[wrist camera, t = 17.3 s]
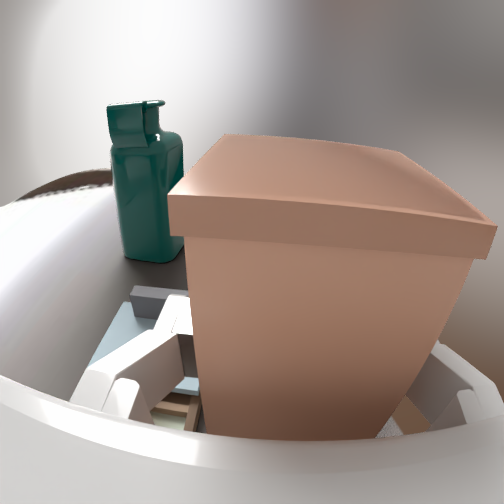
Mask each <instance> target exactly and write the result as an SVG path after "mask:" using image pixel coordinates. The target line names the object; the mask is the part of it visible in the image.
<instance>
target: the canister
mask: <svg viewBox="0 0 504 504" xmlns="http://www.w3.org/2000/svg"><path fill="white" fill-rule="evenodd" d="M167 199H168V213H169V226H170V236H184V246H185V259H186V271H187V283H188V294H189V304H190V313H191V323H192V332H193V340H194V349H195V357H196V364H197V372H198V379H199V386H200V393H201V400H202V406H203V413H204V419H205V425H206V431H207V434H211V435H219V436H228V437H238V438H250V439H264V440H285V441H337V440H357V439H371V438H375V437H376V436H377V434H378V433H379V432H380V430H381V429H382V428H383V426H384V425H385V424H386V422H387V421H388V419H389V418H390V416H391V415H392V413H393V412H394V411H395V409H396V408H397V406H398V404H399V403H400V402H401V400H402V399H403V397H404V396H405V394H406V393H407V391H408V389H409V388H410V386H411V385H412V383H413V381H414V380H415V378H416V377H417V375H418V373H419V372H420V370H421V368H422V366H423V365H424V363H425V361H426V360H427V358H428V356H429V354H430V352H431V351H432V349H433V347H434V345H435V343H436V341H437V339H438V338H439V336H440V334H441V332H442V330H443V328H444V325H445V324H446V322H447V320H448V317H449V316H450V313H451V311H452V309H453V307H454V305H455V302H456V300H457V298H458V296H459V294H460V292H461V289H462V287H463V284H464V282H465V280H466V277H467V275H468V272H469V270H470V267H471V265H472V262H473V260H474V259H484V260H486V258H487V255H488V253H489V250H490V247H491V245H492V242H493V239H494V236H495V233H496V230H497V227H498V226H497V225H495V223H493V222H492V221H491V220H490V219H489V218H487V217H486V216H485V215H484V214H483V213H482V212H480V211H479V210H478V209H477V208H476V207H474V206H473V205H472V204H471V203H469V202H468V201H467V200H466V199H464V198H463V197H462V196H461V195H459V194H458V193H457V192H455V191H454V190H453V189H451V188H450V187H449V186H448V185H446V184H445V183H444V182H442V181H441V180H439V179H438V178H437V177H435V176H434V175H433V174H431V173H430V172H428V171H427V170H425V169H424V168H422V167H421V166H420V165H418V164H417V163H415V162H414V161H412V160H410V159H409V158H408V157H406V156H405V155H403V154H402V153H400V152H399V151H393V150H386V149H381V148H375V147H368V146H361V145H354V144H346V143H338V142H330V141H321V140H311V139H300V138H289V137H276V136H260V135H239V134H237V135H236V134H224V135H223V136H222V137H221V138H220V139H219V140H218V141H217V142H216V143H215V144H214V145H213V146H212V147H211V148H210V149H209V150H208V151H207V152H206V153H205V154H204V156H203V157H202V158H201V159H200V160H199V161H198V162H197V163H196V164H195V165H194V166H193V167H192V168H191V169H190V170H189V171H188V172H187V173H186V174H185V176H184V177H183V178H182V179H181V180H180V181H179V182H178V183H177V184H176V185H175V186H174V187H173V189H172V190H171V191H170V192H169V193H168V194H167Z"/></svg>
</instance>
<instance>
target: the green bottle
mask: <svg viewBox="0 0 504 504" xmlns="http://www.w3.org/2000/svg"><path fill="white" fill-rule="evenodd" d="M163 105H165V102H164V101H162V100H152V101H141V102H130V103H120V104H110V105H108V106H107V117H108V126H109V133H110V137H111V140H112V143H113V145H112V147H111V150H110V162H111V171H112V180H113V189H114V196H115V204H116V211H117V218H118V224H119V230H120V236H121V242H122V248H123V253H124V255H125V256H126V257H128V258H130V259H135V260H142V261H149V262H156V263H166V262H169V261H171V260H173V259H174V258H175V257H176V256H177V254H178V253H179V251H180V250H181V248H182V247H183V246H184V236H170V226H169V213H168V199H167V194H168V193H169V192H170V191H171V190H172V189H173V187H174V186H175V185H176V184H177V183H178V182H179V181H180V180H181V179H182V178H183V177H184V171H183V143H182V140H181V137H180V136H179V135H178V134H176V133H174V132H168V131H163V130H162V129H161V128H160V125H159V107H160V106H163Z"/></svg>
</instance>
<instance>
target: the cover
mask: <svg viewBox="0 0 504 504" xmlns="http://www.w3.org/2000/svg"><path fill="white" fill-rule="evenodd" d="M170 294H177V295H186V296H189V294H188V291H186V290H176V289H166V288H156V287H147V286H138V285H135V286H134V288H133V290H132V291H131V293H130V300H131V302H123V304H122V306H121V307H120V309H119V311H118V312H117V314H116V316H115V318H114V319H113V321H112V323H111V325H110V326H109V328H108V330H107V332H106V333H105V335H104V337H103V339H102V341H101V342H100V344H99V346H98V348H97V350H96V352H95V353H94V355H93V357H92V359H91V361H90V363H89V365H88V367H89V366H91V365H92V364H94V363H96V362H97V361H99V360H100V359H102V358H104V357H105V356H107V355H108V354H110V353H112V352H113V351H115V350H116V349H118V348H120V347H121V346H123V345H124V344H126V343H128V342H129V341H131V340H132V339H134V338H136V337H137V336H139V335H140V334H142V333H144V332H145V331H147V330H153V329H154V327H155V324H156V322H157V320H158V318H159V315H160V313H161V311H162V309H163V307H164V304H165V302H166V300H167V298H168V296H169V295H170ZM199 390H200V386H199V379H198V378H191V377H185V379H184V380H182V381H181V382H180V383H179V384H178V385H177V386H176V387H175V388H174V389H173V390H172V391H171V392H176V393H183V394H189V395H197V396H198V395H199Z"/></svg>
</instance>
